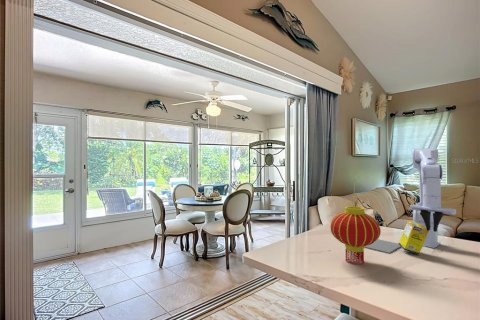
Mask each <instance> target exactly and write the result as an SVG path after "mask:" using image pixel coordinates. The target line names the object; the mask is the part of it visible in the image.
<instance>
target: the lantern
mask: <svg viewBox="0 0 480 320" xmlns="http://www.w3.org/2000/svg"><path fill="white" fill-rule="evenodd" d="M355 183H356V182H355V180H354V181H353V206H351V205H348V206H345V207H344V211H343V212H340V213H338V214H337V215H335V216H334V217H332V219H331V221H330V227H329V228H330V233H331V235H332V236H333V237H334V238H335V239H336V240H337V241H338V242H340V243H341V244H343V245H344V246H345V262H348V260H349V264H351V265H359V266H360V265H364V264H365V250H364V249H365V248H364V246H368V245H371V244H373V243H374V242H375V241H376V240H377V239H379V238H380V236H381V227H380V224H379V223H378V221H377V220H376V219H375V218H374V217H373V216H371V215H369V214H367V213H365V208H364V207H363V206H362V207H361V206H355V205H356V204H355V196H356V194H355V190H356V189H355V187H356V186H355Z"/></svg>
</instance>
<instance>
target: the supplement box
mask: <svg viewBox="0 0 480 320" xmlns="http://www.w3.org/2000/svg"><path fill="white" fill-rule="evenodd" d="M428 232H429V231H428V230H427V229H426V228H425V227H424V226H423V225H420V224H417V223H415V222H414V221H410V220H407V221H406V224H405V226H404V229H403V232H402V234H401V235H400V236H401V237H400V239H399V241H398V244H399V245H400V246H401V247H400V248H401V249H402V250H403V251H406V252H409V253H412V254H416V255H419V256H420V253H421V251H422V248H423V247H424V246H423V244H424V241H425V239H426V236H427V234H428Z"/></svg>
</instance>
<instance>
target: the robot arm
mask: <svg viewBox="0 0 480 320" xmlns="http://www.w3.org/2000/svg"><path fill="white" fill-rule="evenodd" d="M411 160H412V167H413V168H415V169H416V170H417V172H418V180H419V181H418V184H419V185H418V186H419V202H417V203H416V204H410V205H409V210H410V211H412V219H413V221H412V222H414V223H417V224H420V225H423V226H424V227H425V228H426V229H427V230H428V231H429V232H428V234H427V236H426V239H425V241H424V244H423V246H422V247H428V248H433V249H435V248H436V247H438V246H439V245H440V244H441V242H439V238H438V236H439V235H438V234H439V232H438V228H439V225H440V224H441V221H442V218H443V216H444V215H445V214H446V215H447V214H448V215H453V216H455V215H457V208H450V207H443V206H442V199H441V198H442V195H441V194H442V191H441V190H442V189H441V187H442V182H441V181H442V180H443V175H444V174H443V172H444V171H443V167H442V164H438V161H439V149H438V148H437V147H432V148H412V150H411Z"/></svg>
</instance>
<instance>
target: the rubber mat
mask: <svg viewBox="0 0 480 320" xmlns="http://www.w3.org/2000/svg"><path fill="white" fill-rule="evenodd" d="M400 248H402V247H401V246H400V245H399V242H392V241H387V240H384V239H379V238H378V239H377V240H376V241H375V242H374V243H373V244H371V245H368V246H364V249H369V250H373V251H375V252H376V251H377V252H381V253H384V254H390V255H391V253H394V252H395V251H397V250H399V249H400Z"/></svg>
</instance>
